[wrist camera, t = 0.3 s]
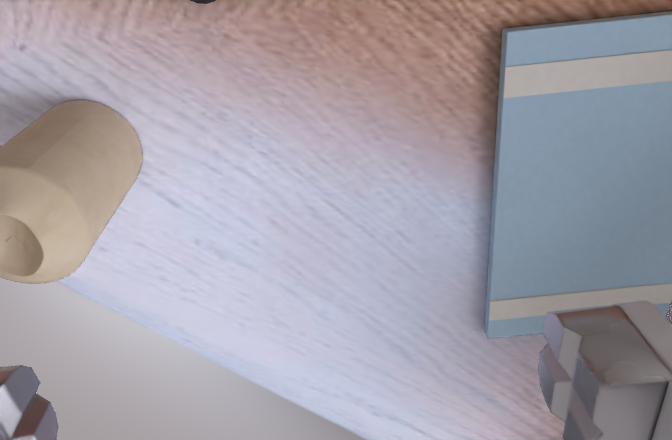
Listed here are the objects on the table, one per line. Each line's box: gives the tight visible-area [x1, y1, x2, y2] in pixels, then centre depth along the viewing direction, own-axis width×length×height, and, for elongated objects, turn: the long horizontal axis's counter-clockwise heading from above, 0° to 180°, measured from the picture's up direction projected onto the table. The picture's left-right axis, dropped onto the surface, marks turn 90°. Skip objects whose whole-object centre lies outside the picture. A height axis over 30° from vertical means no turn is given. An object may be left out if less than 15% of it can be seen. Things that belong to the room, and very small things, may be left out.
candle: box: [0, 100, 143, 284], centre depth 25 cm, size 6×6×10 cm
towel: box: [484, 11, 672, 339], centre depth 31 cm, size 20×12×1 cm, turn 5°
